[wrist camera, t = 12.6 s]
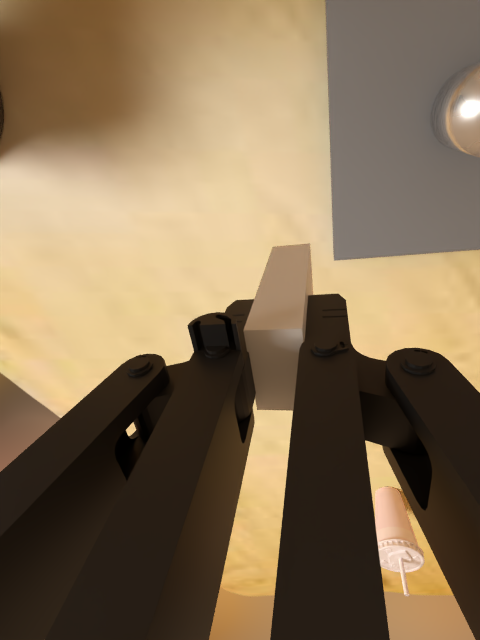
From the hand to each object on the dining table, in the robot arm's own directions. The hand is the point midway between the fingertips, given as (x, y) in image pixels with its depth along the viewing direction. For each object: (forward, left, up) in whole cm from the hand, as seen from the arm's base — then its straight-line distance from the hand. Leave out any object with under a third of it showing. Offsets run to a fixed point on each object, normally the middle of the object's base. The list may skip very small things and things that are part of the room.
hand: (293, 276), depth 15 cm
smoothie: (+9, -48, -25) cm, 55 cm away
